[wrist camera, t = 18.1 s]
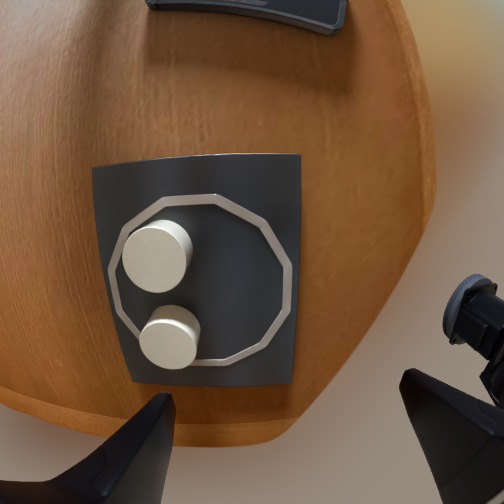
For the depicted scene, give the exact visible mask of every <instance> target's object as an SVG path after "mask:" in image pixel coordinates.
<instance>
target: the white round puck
mask: <svg viewBox="0 0 504 504" xmlns="http://www.w3.org/2000/svg"><path fill="white" fill-rule="evenodd" d="M192 257H193V246H192V242H191V239H190V237H189V235H188V234H187V232H186V231H185V230H184V229H183V228H182V227H181V226H180V225H178V224H176V223H174V222H172V221H169V220H156V221H153V222H151V223H149V224H147V225H145V226H144V227H142V228H140V229H139V230H137V231H135V232H134V233H133V234H132V235H131V236H130V237H129V238H128V239H127V241H126V243H125V245H124V248H123V255H122V259H123V265H124V268H125V271H126V273H127V275H128V276H129V278H130V279H131V280H132V282H133V283H134V284H136V285H137V286H138V287H140V288H141V289H144V290H146V291H149V292H154V293H161V292H166V291H169V290H171V289H173V288H174V287H176V286H177V285H178V284H179V283H180V282H181V280H182V278H183V277H184V275H185V273H186V271H187V269H188V267H189V265H190V263H191V260H192Z"/></svg>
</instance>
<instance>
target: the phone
mask: <svg viewBox="0 0 504 504" xmlns="http://www.w3.org/2000/svg"><path fill="white" fill-rule="evenodd" d="M145 2H146V3H147V5H148V7H149V8H150V9H152V10H194V11H210V12H221V13H230V14H238V15H244V16H251V17H257V18H262V19H267V20H272V21H276V22H281V23H285V24H289V25H293V26H297V27H301V28H304V29H308V30H311V31H314V32H318V33H321V34H324V35H334V34H336V33H337V32H338V31H339V30H340V29H341V28H342V26H343V24H344V20H345V12H346V4H347V0H145Z"/></svg>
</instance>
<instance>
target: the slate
mask: <svg viewBox="0 0 504 504" xmlns="http://www.w3.org/2000/svg"><path fill="white" fill-rule="evenodd" d="M92 175H93V194H94V207H95V218H96V227H97V235H98V243H99V250H100V256H101V262H102V268H103V274H104V279H105V284H106V289H107V294H108V298H109V303H110V307H111V311H112V315H113V319H114V323H115V327H116V330H117V334H118V338H119V341H120V345H121V348H122V351H123V354H124V358H125V361H126V364H127V367H128V370H129V373H130V375H131V378H132V381H133V382H141V383H152V384H164V385H180V386H256V385H273V384H286V383H291V379H292V368H293V357H294V345H295V332H296V317H297V301H298V283H299V260H300V227H301V154H286V153H238V154H211V155H194V156H180V157H169V158H158V159H149V160H141V161H133V162H125V163H118V164H112V165H105V166H99V167H94V168H92ZM156 220H169V221H172V222H174V223H176V224H178V225H180V226H181V227H182V228H183V229H184V230H185V231H186V232H187V234H188V235H189V237H190V239H191V242H192V246H193V257H192V260H191V263H190V265H189V267H188V269H187V271H186V273H185V275H184V277H183V278H182V280H181V282H180V283H179V284H178V285H177V286H176V287H174V288H173V289H171V290H169V291H166V292H161V293H154V292H149V291H146V290H144V289H141V288H140V287H138V286H137V285H136V284H134V283H133V282H132V280H131V279H130V278H129V276H128V275H127V273H126V271H125V268H124V265H123V259H122V255H123V248H124V245H125V243H126V241H127V239H128V238H129V237H130V236H131V235H132V234H133V233H134V232H135V231H137V230H139V229H140V228H142V227H144V226H145V225H147V224H149V223H151V222H153V221H156ZM164 305H176V306H180V307H183V308H185V309H187V310H188V311H190V312H191V313H192V314H193V315H194V316H195V317H196V319H197V320H198V322H199V325H200V329H201V334H200V339H199V344H198V349H197V354H196V357H195V359H194V361H193V362H192V363H191V364H190V365H188V366H187V367H184V368H181V369H166V368H162V367H160V366H158V365H156V364H154V363H152V362H151V361H150V360H149V359H148V358H147V357H146V356H145V355H144V353H143V352H142V350H141V347H140V342H139V338H140V334H141V332H142V330H143V328H144V326H145V324H146V323H147V321H148V319H149V317H150V316H151V314H152V313H153V311H154V310H156V309H157V308H159V307H161V306H164Z"/></svg>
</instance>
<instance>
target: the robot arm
mask: <svg viewBox="0 0 504 504" xmlns="http://www.w3.org/2000/svg"><path fill="white" fill-rule="evenodd" d="M497 287H498V285H497V284H496V283H491V284H486V285H481V286H476V287H471V288H467V289H466V290H465V291H464V294H463V298H462V301H461V305H460V309H459V312H458V315H457V319H456V322H455V325H454V328H453V331H452V334H451V337H450V340H449V343H450V344H452V345H454V344H457V343H460V342H462V341H465V342H466V343H467V344H468V345H469V346H471V347H472V348H473V349H474V350H475V351H477V352H478V353H480V354H481V355H482V356H483V357H484V358H485V359H486V360H489V362H488V364H487V366H486V368H485V369H484V371H483V372H482V373H481V375H480V376H479V377H480V379H481V381H482V383H483V385H484V386H485V388H486V390H487V391H488V393H489V395H490V397H491V399H492V400H493V402H494V404H495V406H493V405H490V404H488V403H486V402H483V401H481V400H479V399H476V398H475V397H473V396H471V395H468V394H466V393H464V392H462V391H460V390H458V389H456V388H454V387H451V386H450V385H448V384H446V383H443V382H441V381H439V380H437V379H435V378H433V377H431V376H429V375H427V374H425V373H423V372H421V371H419V370H417V369H415V368H412V369H408V370H406V371H405V372H404V374H403V376H402V379H401V382H400V385H399V389H400V393H401V396H402V399H403V401H404V404H405V408H406V411H407V414H408V417H409V419H410V422H411V424H412V426H413V429H414V431H415V433H416V435H417V437H418V440H419V442H420V445H421V447H422V449H423V452H424V454H425V457H426V459H427V462H428V464H429V466H430V469H431V472H432V474H433V477H434V480H435V482H436V485H437V488H438V491H439V493H440V497H441V499H442V502H443V504H504V301H503V300H502V299H500V298H498V297H497V296H495V295H496V291H497ZM175 414H176V408H175V404H174V401H173V398H172V395H171V393H170V392H159V393H158V394H156V395H155V396H154V397H153V398H152V399H151V400H150V401H149V402H148V403H147V404H146V405H145V406H144V407H143V408H142V409H140V410H139V411H138V412H137V413H136V414H135V415H134V416H133V417H132V418H131V419H130V420H128V421H127V422H126V423H125V424H124V425H123V426H122V427H121V428H120V429H119V430H117V431H116V432H115V433H114V434H113V435H112V436H111V437H110V438H108V439H107V440H106V441H105V442H104V443H103V445H100V446H99V447H98V448H97V449H96V450H95V451H93V452H92V453H91V454H90V455H89V456H87V457H86V458H85V459H83V460H82V461H80V462H79V463H77V464H76V465H74V466H73V467H71V468H70V469H68V470H66V471H65V472H64V473H62V474H60V475H59V476H57V477H55V478H53V479H51V480H48V481H43V482H19V481H4V480H0V504H161V498H162V494H163V488H164V484H165V479H166V474H167V469H168V465H169V460H170V455H171V451H172V446H173V436H174V425H175Z"/></svg>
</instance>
